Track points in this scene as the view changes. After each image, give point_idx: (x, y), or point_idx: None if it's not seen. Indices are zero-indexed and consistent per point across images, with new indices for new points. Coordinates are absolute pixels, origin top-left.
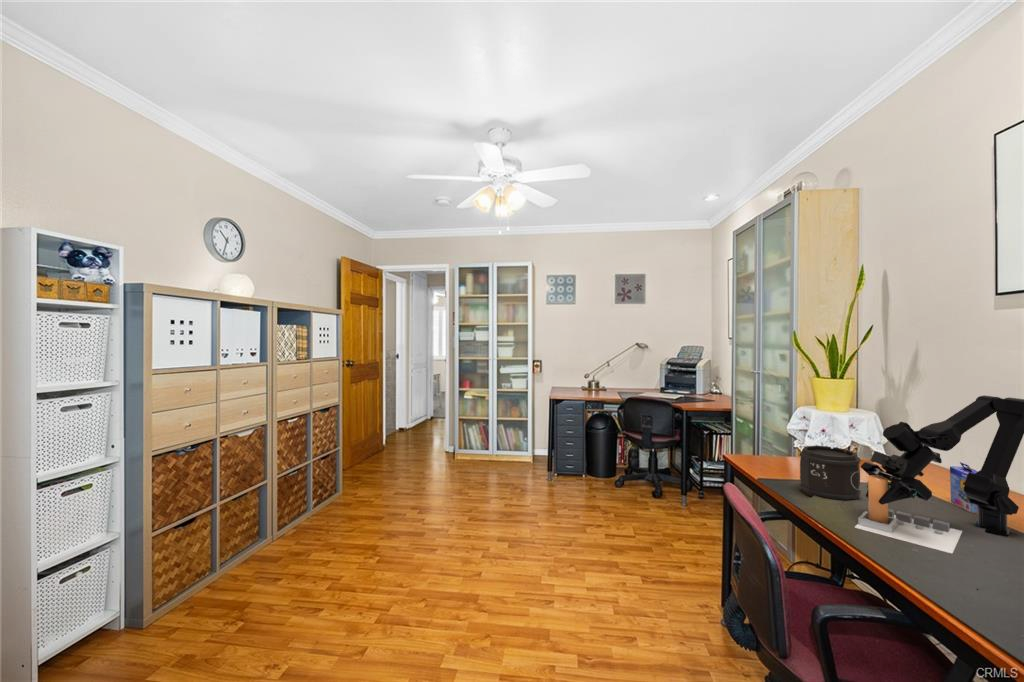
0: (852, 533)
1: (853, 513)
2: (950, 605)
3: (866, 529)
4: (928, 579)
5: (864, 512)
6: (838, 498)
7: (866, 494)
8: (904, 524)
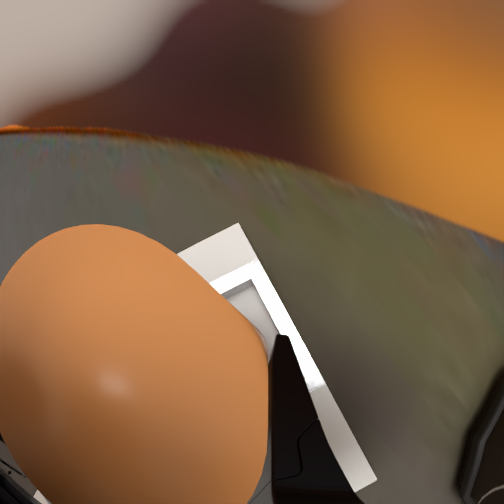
0: (228, 208)
1: (397, 400)
2: (9, 147)
3: (207, 252)
4: (28, 177)
5: (309, 360)
6: (486, 417)
7: (286, 342)
8: None
